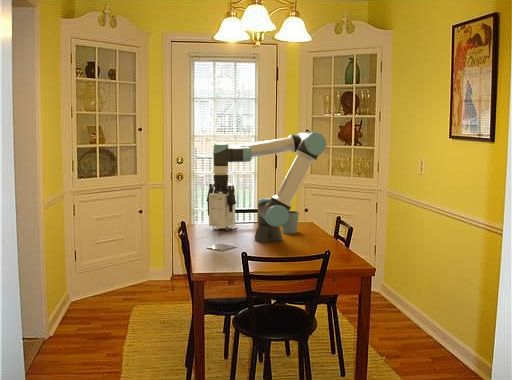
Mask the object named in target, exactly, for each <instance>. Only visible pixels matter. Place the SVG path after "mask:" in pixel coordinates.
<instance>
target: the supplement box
mask: <svg viewBox="0 0 512 380" xmlns="http://www.w3.org/2000/svg"><path fill="white" fill-rule="evenodd" d="M228 195H229V194H223V193H222V192H219V193H214V192H213V193H211V194H209V216H208V224H209V225H208V226H209V227H214V228H216V227H224V228H225V227H228V226H230V225H233V211H232V218H229V219H228V218H227V206H228V203H227V196H228Z"/></svg>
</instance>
